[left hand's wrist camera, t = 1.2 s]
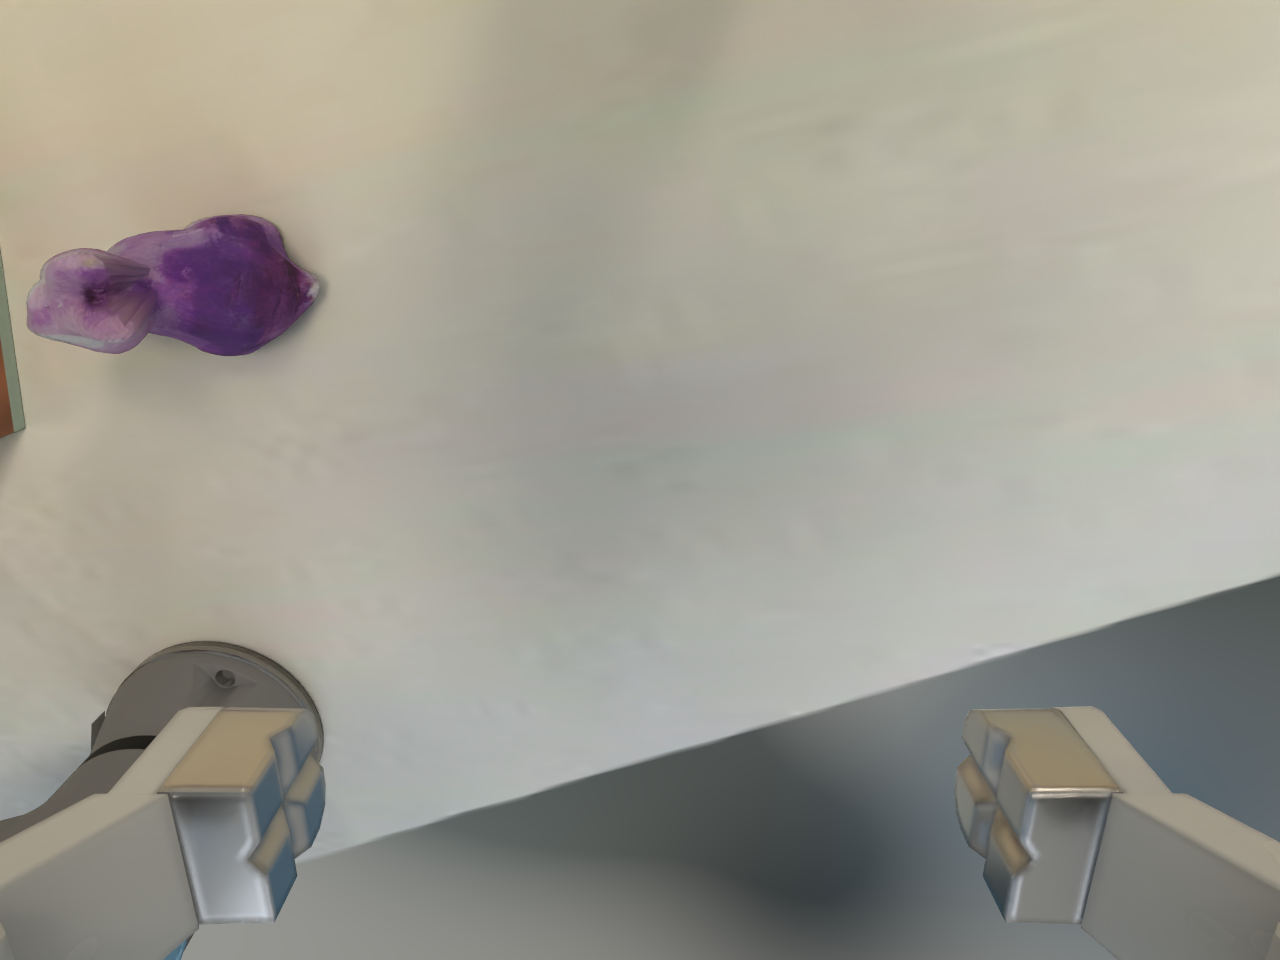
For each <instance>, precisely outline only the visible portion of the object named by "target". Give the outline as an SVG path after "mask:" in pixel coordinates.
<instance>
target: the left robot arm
mask: <svg viewBox="0 0 1280 960" xmlns="http://www.w3.org/2000/svg"><path fill="white" fill-rule="evenodd" d="M317 739H318V734H317V729H316V723H315V718H314V715H313V714H312V713H311V712H310V711H309V710H308V709H299V708H252V707H228V708H225V707H188V708H185V709H182V710H179V711H178V712H177V713H176V714H175V715H174V716H173V718H172V719H171V720H170V721H169V722H168V723H167V725H166V726H165V727H164V728H163V729H162V730H161V732H160V733H159V734H158V735H157V736H156V737H155V739H154V740H153V741H152V742H151V743H150V744H149V746H148V747H147V748H146V749H145V750H144V751H143V753H142V754H141V755H140V756H139V757H138V758H137V760H136V761H135V762H134V763H133V764H132V765H131V767H130V768H129V769H128V770H127V771H126V773H125V774H124V775H123V776H122V777H121V778H120V780H119V781H118V782H117V783H116V784H115V785H114V787H113V788H112V789H111V790H110V791H109V792H108V794H93V795H91V796H89V797H87V798H85V799H83V800H81V801H79V802H77V803H75V804H74V805H72V806H70V807H68V808H66V809H64V810H62V811H60V812H58V813H56V814H54V815H52V816H50V817H48V818H47V819H45V820H43V821H41V822H39V823H37V824H35V825H33V826H31V827H29V828H27V829H25V830H23V831H21V832H20V833H18V834H16V835H14V836H12V837H10V838H8V839H6V840H4V841H2V842H0V960H163V959H164V958H165V957H166V956H168V955H169V954H170V953H171V952H172V951H173V950H175V949H176V948H177V947H178V946H179V945H180V944H182V943H183V942H184V941H185V940H186V939H187V938H189V937H190V936H191V935H192V934H193V933H194V932H195V931H197V930H198V929H199V925H198V924H229V923H264V922H275V920H276V918H277V916H278V914H279V912H280V910H281V908H282V906H283V904H284V902H285V900H286V898H287V896H288V894H289V892H290V890H291V887H292V885H293V883H294V881H295V879H296V877H297V872H296V866H295V860H294V859H295V858H296V857H298V856H299V855H301V854H302V853H303V852H305V851H306V850H307V849H309V848H310V847H311V846H312V844H313V842H314V840H315V837H316V835H317V833H318V831H319V829H320V825H321V820H322V816H323V811H324V806H325V778H324V771H323V767H322V766H321V765H320V764H319V763H318V762H317V761H316V760H315V759H314V758H313V757H312V756H311V755H310V752H311V750H312V748H313V746H314V745H315V743H316V741H317ZM962 739H963V741H964V743H965V745H966V746H967V748H968V750H969V752H970V755H969V756H968V757H967V758H966V759H965V760H964V761H963V762H962V763H961V764H960V765H959V766H958V767H957V772H956V780H955V789H954V793H955V803H956V814H957V817H958V821H959V824H960V828H961V831H962V833H963V835H964V837H965V840H966V842H967V844H968V846H969V847H970V848H971V849H973V850H974V851H975V852H977V853H978V854H979V855H981V856H982V857H984V858H985V859H986V860H985V866H984V872H983V877H984V879H985V881H986V883H987V885H988V887H989V890H990V891H991V894H992V896H993V898H994V900H995V902H996V904H997V906H998V908H999V910H1000V912H1001V914H1002V916H1003V918H1004V920H1005V922H1015V923H1049V924H1082V925H1081V929H1083V930H1084V931H1085V932H1086V933H1087V934H1088V935H1090V936H1091V937H1092V938H1093V939H1094V940H1095V941H1097V942H1098V943H1099V944H1100V945H1101V946H1102V947H1104V948H1105V949H1106V950H1107V951H1108V952H1109V953H1110V954H1112V955H1113V956H1114V957H1115V958H1116V959H1118V960H1280V842H1278V841H1276V840H1274V839H1272V838H1270V837H1268V836H1266V835H1264V834H1262V833H1260V832H1258V831H1256V830H1255V829H1253V828H1251V827H1249V826H1247V825H1245V824H1243V823H1241V822H1239V821H1237V820H1235V819H1233V818H1231V817H1229V816H1228V815H1226V814H1224V813H1222V812H1220V811H1218V810H1216V809H1214V808H1212V807H1210V806H1208V805H1206V804H1204V803H1203V802H1201V801H1199V800H1197V799H1195V798H1193V797H1191V796H1189V795H1187V794H1172V792H1171V791H1170V790H1169V789H1168V788H1167V787H1166V785H1165V784H1164V783H1163V782H1162V781H1161V780H1160V778H1159V777H1158V776H1157V775H1156V774H1155V773H1154V771H1153V770H1152V769H1151V768H1150V767H1149V766H1148V764H1147V763H1146V762H1145V761H1144V760H1143V759H1142V757H1141V756H1140V755H1139V754H1138V753H1137V752H1136V750H1135V749H1134V748H1133V747H1132V746H1131V745H1130V743H1129V742H1128V741H1127V740H1126V739H1125V738H1124V736H1123V735H1122V734H1121V733H1120V732H1119V731H1118V729H1117V728H1116V727H1115V726H1114V725H1113V724H1112V722H1111V721H1110V720H1109V719H1108V718H1107V717H1106V715H1105V714H1104V713H1103V712H1102V711H1100V710H1098V709H1096V708H1094V707H1092V706H1086V707H1055V708H1051V709H983V710H970V711H969V713H968V715H967V717H966V719H965V722H964V727H963V733H962Z"/></svg>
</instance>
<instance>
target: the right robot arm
mask: <svg viewBox="0 0 1280 960" xmlns="http://www.w3.org/2000/svg"><path fill="white" fill-rule="evenodd" d="M188 707H225V708H228V707H252V708H299V709H308V710H309V711H310V712H311V713H312V714H313V715H314V718H315V723H316V729H317V734H318V739H317V741H316V743H315V745H314V746H313V748H312V750H311V752H310V755H311V756H312V757H313V758H314V759H315V760H316V761H317V762H318V763H319V761H320V758H321V754H322V748H323V733H322V726H321V722H320V718H319V715H318V713H317V710H316V708H315V706H314V704H313V702H312V700H311V699H310V697H309V695H308V694H307V693H306V691H305V690H304V689H303V687H302V686H301V685H300V684H299V683H298V682H297V681H296V680H295V679H294V678H293V677H292V676H291V675H290V674H289V673H288V672H286V671H285V670H284V669H283V668H281V667H280V666H278V665H277V664H276V663H274V662H273V661H271V660H269V659H267V658H265V657H264V656H261V655H259V654H257V653H255V652H253V651H250V650H247V649H244V648H241V647H237V646H234V645H229V644H224V643H215V642H192V643H186V644H180V645H176V646H172V647H170V648H167V649H164V650H162V651H160V652H158V653H156V654H154V655H152V656H151V657H149V658H148V659H146V660H145V661H144V662H143V663H141V664H140V665H139V666H138V667H137V668H136V669H135V670H134V671H133V672H132V673H131V674H130V675H129V676H128V677H127V678H126V679H125V680H124V682H123V683H122V684H121V685H120V687H119V689H118V690H117V692H116V693H115V695H114V696H113V698H112V700H111V702H110V704H109V707H108V709H107V713H106V716H105V711H104V712H103V713H102V714H101V715H100V716H99V717H98V718H97V719H96V720H95V721H94V722H93V723H92V738H91V754H90V756H89V757H88V758H87V759H86V760H85V761H84V762H83V763H82V764H81V766H80V767H79V768H78V769H77V770H76V771H75V772H74V773H73V774H72V775H71V776H70V777H69V778H68V779H67V780H66V781H65V782H64V783H63V785H62V786H61V787H60V788H59V789H58V790H57V791H56V792H55V793H54V794H53V795H52V796H51V797H50V798H49V799H48V801H47V802H45V803H44V804H43V805H41V806H40V807H38V808H36V809H35V810H33V811H31V812H29V813H27V814H24V815H21V816H17V817H13V818H10V819H6V820H2V821H0V842H2V841H4V840H6V839H8V838H10V837H12V836H14V835H16V834H18V833H20V832H21V831H23V830H25V829H27V828H29V827H31V826H33V825H35V824H37V823H39V822H41V821H43V820H45V819H47V818H48V817H50V816H52V815H54V814H56V813H58V812H60V811H62V810H64V809H66V808H68V807H70V806H72V805H74V804H75V803H77V802H79V801H81V800H83V799H85V798H87V797H89V796H91V795H93V794H108V792H109V791H110V790H111V789H112V788H113V787H114V785H115V784H116V783H117V782H118V781H119V780H120V778H121V777H122V776H123V775H124V774H125V773H126V771H127V770H128V769H129V768H130V767H131V765H132V764H133V763H134V762H135V761H136V760H137V758H138V757H139V756H140V755H141V754H142V753H143V751H144V750H145V749H146V748H147V747H148V746H149V744H150V743H151V742H152V741H153V740H154V739H155V737H156V736H157V735H158V734H159V733H160V732H161V730H162V729H163V728H164V727H165V726H166V725H167V723H168V722H169V721H170V720H171V719H172V718H173V716H174V715H175V714H176V713H177V712H178V711H179V710H182V709H185V708H188ZM198 925H199V924H198ZM193 934H194V933H193ZM193 934H192V935H191V936H190V937H189V938H187V939H186V940H185V941H184V942H183V943H182V944H180V945H179V946H178V947H177V948H176V949H175V950H173V951H172V952H171V953H170V954H169V955H168V956H166V957H165V958H164V959H163V960H181V957H182V954H183V952H184V950H185V948H186V946H187V945H188V943H189V941H190V939H191V938H192V936H193Z"/></svg>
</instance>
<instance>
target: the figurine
mask: <svg viewBox="0 0 1280 960" xmlns="http://www.w3.org/2000/svg"><path fill="white" fill-rule="evenodd" d="M319 290H320V285H319V282H318V280H317V278H316V277H315V276H314V275H313V274H311V273H309V272H307V271H305V270H303V269H301V268H300V267H298V266H296V265H295V264H294V263H293V262H292V261H291V260H290V259H289V258H288V256H287V254H286V251H285V250H284V247H283V244H282V240H281V236H280V233H279V231H278V229H277V228H276V227H275V226H274V225H273V224H272V223H270V222H268V221H266V220H265V219H263V218H260V217H256V216H250V215H242V214H241V215H224V216H213V217H209V218H204V219H200V220H198V221H196V222H193V223H191V224H190V225H188V226H187V227H186V228H185V229H184V230H175V231H155V232H148V233H143V234H139V235H136V236H132V237H128V238H126V239H123V240H121V241H120V242H118V243H116V244H115V245H114V246H113V247H111V248H110V249H109V250H108V251H107V252H105V251H102V250H98V249H87V248H80V249H74V250H70V251H66V252H63V253H60V254H58V255H55V256H54V257H52V258H51V259H50V260H48V261H47V262H46V263H45V264H44V266H43V267H42V269H41V273H40V280H39V281H38V282H37V283H36V284H34V286H33V287H32V288H31V290H30V291H29V293H28V297H27V311H28V315H27V327H28V329H29V330H30V331H31V332H33V333H35V334H36V335H38V336H41V337H45V338H48V339H51V340H55V341H60V342H64V343H68V344H72V345H76V346H80V347H83V348H87V349H90V350H93V351H97V352H103V353H112V354H119V353H123V352H126V351H128V350H130V349H132V348H134V347H135V346H136V345H138V344H139V343H140V342H141V341H142V339H143V338H144V337H145V336H146V335H147V334H148V333H153V334H157V335H163V336H168V337H172V338H175V339H179V340H181V341H184V342H186V343H188V344H191V345H193V346H195V347H197V348H198V349H200V350H202V351H204V352H207V353H211V354H215V355H222V356H238V355H245V354H249V353H252V352H254V351H256V350H258V349H259V348H261V347H262V346H264V345H265V344H267V343H268V342H270V341H272V340H273V339H275V338H276V337H278V336H279V335H281V334H282V333H283V332H284V331H286V330H287V329H288V328H289V327H290V326H291V325H292V324H293V323H294V322H295V321H296V320H297V319H298V318H299V317H300V316H301V314H302V313H303V312H304V311H305V310H306V309H307V308H308V307H309V306H310V305H311V304H312V303H313V302H314V301H315V299H316V298H317V296H318V294H319Z"/></svg>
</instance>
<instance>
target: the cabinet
mask: <svg viewBox="0 0 1280 960" xmlns="http://www.w3.org/2000/svg"><path fill="white" fill-rule="evenodd" d="M22 429H25V422H24V415H23V408H22V401H21V394H20V387H19V379H18V372H17V365H16V358H15V351H14V344H13V337H12V330H11V323H10V316H9V309H8V302H7V295H6V287H5V280H4V273H3V266H2V259H1V252H0V438H1V437H4V436H6V435H9V434H11V433H15V432H18V431H20V430H22Z"/></svg>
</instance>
